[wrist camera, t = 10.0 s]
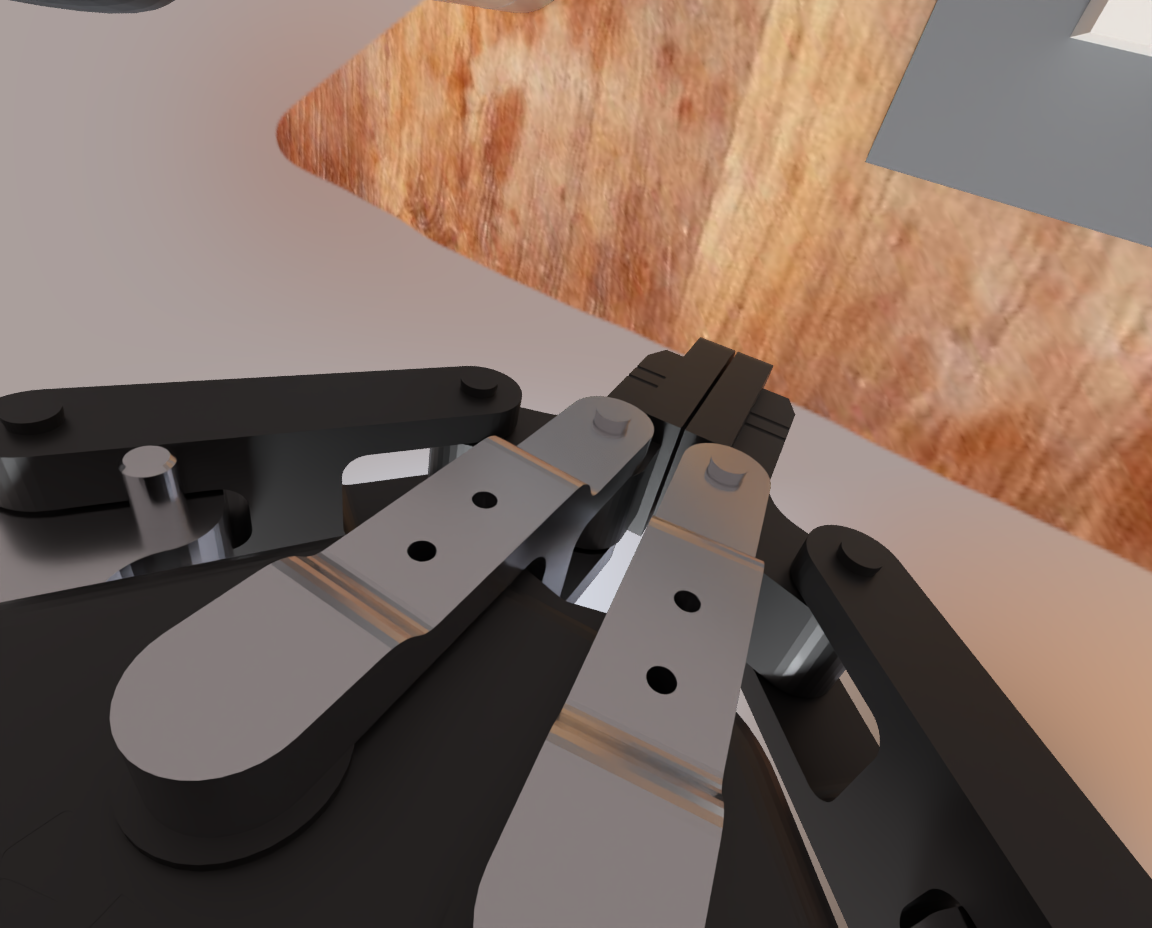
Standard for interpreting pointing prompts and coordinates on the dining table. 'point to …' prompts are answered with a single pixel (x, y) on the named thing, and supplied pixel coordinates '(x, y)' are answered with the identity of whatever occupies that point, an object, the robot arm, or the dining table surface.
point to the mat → (1026, 115)
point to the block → (1117, 25)
